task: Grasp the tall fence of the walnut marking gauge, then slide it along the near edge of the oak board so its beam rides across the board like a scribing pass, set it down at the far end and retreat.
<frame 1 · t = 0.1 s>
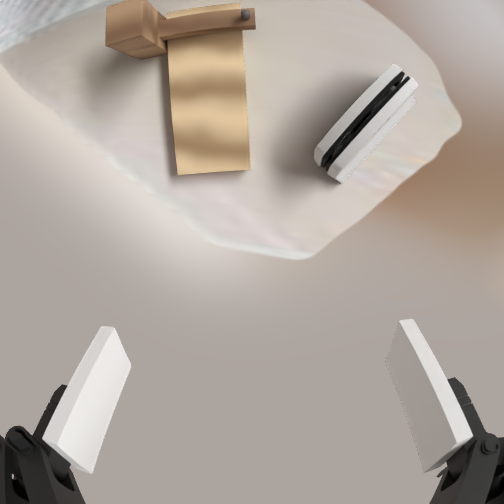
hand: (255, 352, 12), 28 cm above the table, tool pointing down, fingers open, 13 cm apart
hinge: (359, 121, 33), on the table
board: (209, 86, 31), on the table
gauge: (154, 40, 28), on the table
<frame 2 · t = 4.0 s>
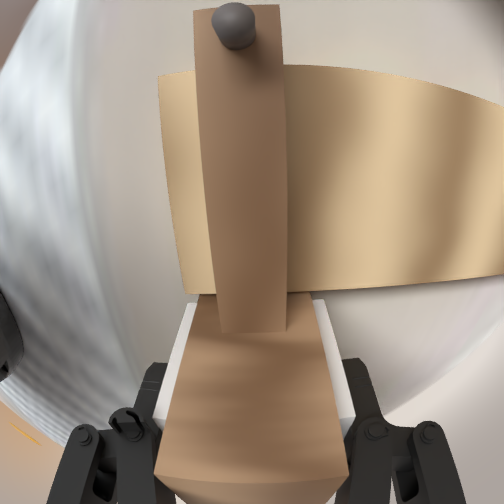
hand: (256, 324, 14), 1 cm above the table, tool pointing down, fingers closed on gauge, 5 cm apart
board: (418, 179, 12), on the table
gauge: (256, 308, 15), on the table, touching gripper
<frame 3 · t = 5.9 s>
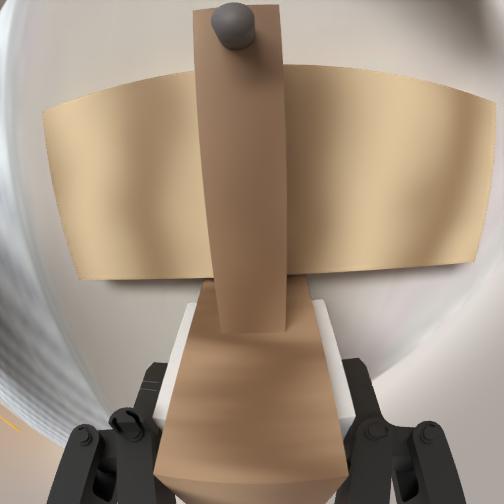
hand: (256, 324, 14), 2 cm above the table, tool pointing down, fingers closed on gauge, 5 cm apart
board: (284, 167, 13), on the table
gauge: (256, 308, 15), point 1 cm above the table, touching gripper
when the fingers open (1 cm above the table, at t = 8.2 s): gauge stays where it is, on the table.
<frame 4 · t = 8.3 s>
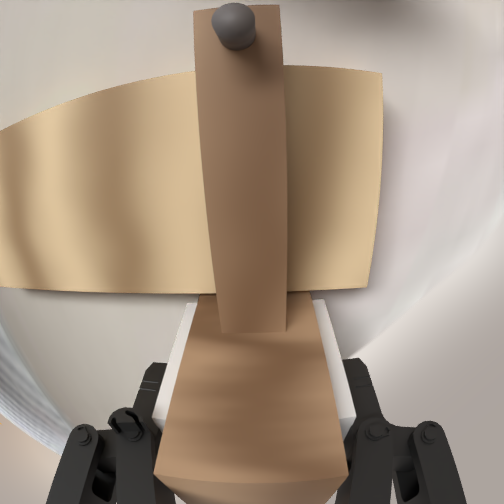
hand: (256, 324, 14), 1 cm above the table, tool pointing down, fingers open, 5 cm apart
board: (123, 187, 12), on the table
gauge: (256, 308, 15), on the table
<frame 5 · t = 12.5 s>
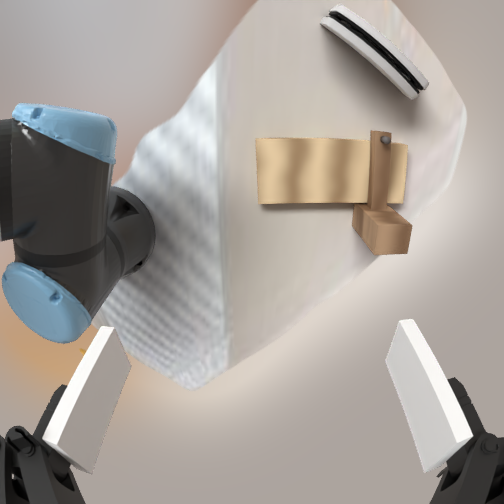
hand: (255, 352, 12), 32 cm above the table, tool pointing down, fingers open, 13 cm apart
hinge: (368, 53, 31), on the table
board: (333, 169, 39), on the table
gauge: (367, 213, 42), on the table
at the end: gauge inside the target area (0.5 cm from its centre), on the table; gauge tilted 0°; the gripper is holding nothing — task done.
